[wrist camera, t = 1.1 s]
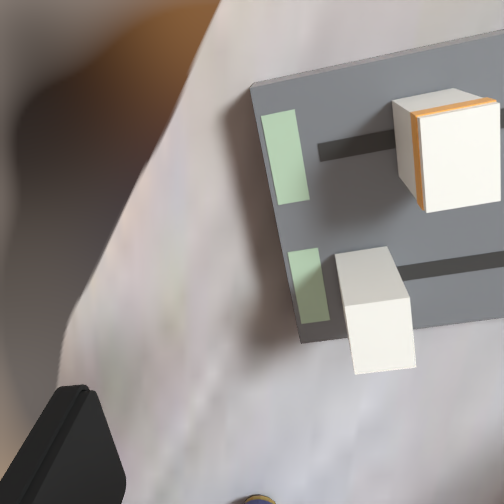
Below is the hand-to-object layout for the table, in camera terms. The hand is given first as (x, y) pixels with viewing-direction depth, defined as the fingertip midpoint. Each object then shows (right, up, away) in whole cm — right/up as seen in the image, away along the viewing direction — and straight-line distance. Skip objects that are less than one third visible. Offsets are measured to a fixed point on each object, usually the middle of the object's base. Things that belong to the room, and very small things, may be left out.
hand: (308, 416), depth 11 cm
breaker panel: (+9, +7, +19) cm, 22 cm away
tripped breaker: (+8, +10, +15) cm, 19 cm away
